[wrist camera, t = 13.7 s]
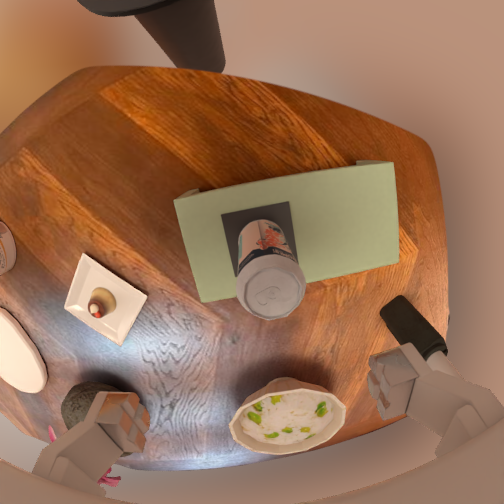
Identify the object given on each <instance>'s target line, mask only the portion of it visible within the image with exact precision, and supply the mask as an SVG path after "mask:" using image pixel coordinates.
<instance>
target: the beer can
mask: <svg viewBox="0 0 504 504" xmlns="http://www.w3.org/2000/svg"><path fill="white" fill-rule="evenodd" d="M238 245H239V254H238V277H237V283H236V293H237V297H238V299H239V301H240V303H241V305H242V306H243V307H244V308H245V309H246V310H247V311H248V312H250V313H251V314H252V315H255V316H257V317H260V318H263V319H266V320H274V319H278V318H283V317H287V316H288V315H289V314H290V313H291V312H292V311H293V310H294V309H295V308H296V307H297V306H298V305H299V304H300V302H301V301H302V299H303V297H304V294H305V289H306V280H305V276H304V274H303V271H302V270H301V268H300V267H299V265H298V263H297V261H296V259H295V257H294V255H293V253H292V251H291V249H290V247H289V245H288V243H287V241H286V239H285V236H284V234H283V231H282V230H281V228H280V227H279V226H278V225H277V224H275V223H274V222H272V221H269V220H256V221H253V222H251V223H249V224H247V225H246V226H245V227H244V228H243V230H242V231H241V233H240V235H239V240H238Z"/></svg>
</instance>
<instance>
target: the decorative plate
mask: <svg viewBox="0 0 504 504" xmlns="http://www.w3.org/2000/svg"><path fill="white" fill-rule="evenodd" d="M0 376H1V377H2V378H3V379H4V380H5V381H6V382H8V383H9V384H10V385H12V386H13V387H15V388H17V389H19V390H20V391H22V392H29V393H38V392H39V391H40V390H42V389H43V388H44V387H45V385H46V381H47V377H48V376H47V372H46V367H45V364H44V362H43V360H42V358H41V356H40V354H39V352H38V349H37V347H36V346H35V345H34V343H33V342H32V341H31V339H30V338H29V337H28V335H27V334H26V333H25V331H24V330H23V328H22V327H21V326H20V324H19V323H18V321H17V320H16V319H15V318H13V317H12V316H11V315H10V314H9V313H8V312H7V311H6V310H5V309H2V308H0Z"/></svg>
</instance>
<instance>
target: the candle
mask: <svg viewBox="0 0 504 504" xmlns="http://www.w3.org/2000/svg"><path fill="white" fill-rule="evenodd" d="M380 316H381V317H382V319H383V320H384V321H385V323H386V324H387V325H386V326H387V327H388V329H389V330H390V331H391V333H392V334H393V335H394V337H395V338H396V340H397V341H398V342H399V344H400V345H404V344H407V343H412V344H413V346H414V347H415V348H416V349H417V351H418V352H419V353H420V355H421V356H422V357H423V359H424V360H425V361H426V363H427V364H428V365H429V367H430V368H431V369H432V371H435V370H438V371H441V372H443V373H446V374H449V375H451V376H454V377H457V378H459V379H462V380H465V379H464V378H463V377H462V376H461V374H460V373H459V372H458V371H457V369H456V368H455V367H454V366H453V365H452V363H451V362H450V361H449V360H448V359H447V357H446V356H447V353H448V350H447V347H446V344H445V341H444V338H443V337H442V336H441V335H440V334H439V333H438V332H437V331H436V330H435V329H434V327H433V326H432V325H431V324H430V323H429V322H428V321H427V320H426V319H425V318H424V317H423V316H422V315H421V314H420V313H419V312H418V311H417V310H416V309H415V307H414V306H413V305H412V304H411V303H410V302H409V301H408V300H407V299H406V298H405V297H404V296H402V295H400V296H397V297H396V298H395V299H393V300H392V301H391V302H389V303H388V304H387V305H386V306H384V307H383V308H382V309H381V311H380Z"/></svg>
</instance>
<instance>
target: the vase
mask: <svg viewBox="0 0 504 504" xmlns="http://www.w3.org/2000/svg"><path fill="white" fill-rule="evenodd" d="M100 391H103V392H122V391H120V390H119V389H117V388H116V387H113V386H110V385H107V384H104V383H101V382H91V381H87V382H84V383H80V384H78V385H76V386H73V388H72V389H71V390H70V391H69V393H68V394H67V396H66V397H65V399H64V401H63V402H62V405H61V414H62V417H63V420H64V422H65V425H66V427H67V429H68V430H70V429H71V428H72V427H74V426H75V425H76V424H78V423H79V422H80V421H83V422H84V420H85V418H86V415H87V413H88V411H89V409H90V407H91V405H92V403H93V401H94V399H95V397H96V395H97V393H99V392H100ZM49 437H50V439H51V441H52V442H54V441H55V440H56V439H57V438H56V436H55V433H54V431H53V429H52V427H51V426H49ZM132 453H133V452H123V454H122V455H121V456H120V457H125V456H128V455H130V454H132ZM110 472H111V467H110V468H109V469H108V470H107V471H106V473H105V474H104V475H103V476H102V477H101V478H100V479H99V480H98V481H97V482H96V483H98V484H99V485H100V484H101V483H104V484H107V485H109V486H113V487H116V486H117V485H118V482H119V480H121V477H120V476H119V477H106V476H107V474H108V473H110Z"/></svg>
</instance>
